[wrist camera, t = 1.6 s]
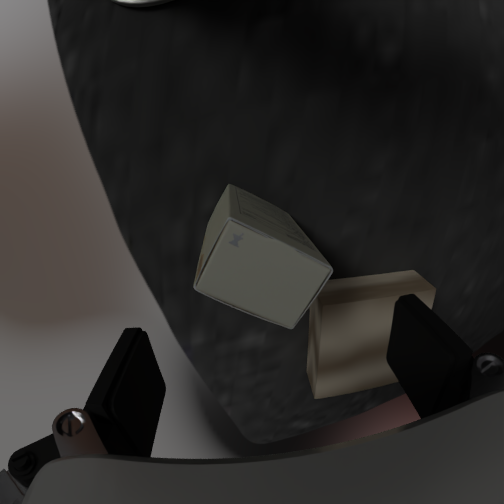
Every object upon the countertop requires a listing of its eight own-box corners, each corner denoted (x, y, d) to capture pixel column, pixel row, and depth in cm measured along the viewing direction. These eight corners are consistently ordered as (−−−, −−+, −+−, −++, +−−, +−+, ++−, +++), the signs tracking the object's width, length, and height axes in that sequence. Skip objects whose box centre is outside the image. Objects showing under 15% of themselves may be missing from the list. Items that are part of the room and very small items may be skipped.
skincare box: (206, 225, 26) (184, 288, 15) (228, 181, 25) (222, 211, 13) (269, 256, 27) (293, 334, 16) (293, 215, 26) (337, 270, 15)
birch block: (309, 280, 29) (322, 305, 24) (412, 268, 29) (436, 288, 24) (306, 369, 33) (314, 399, 28) (394, 353, 33) (410, 378, 29)
